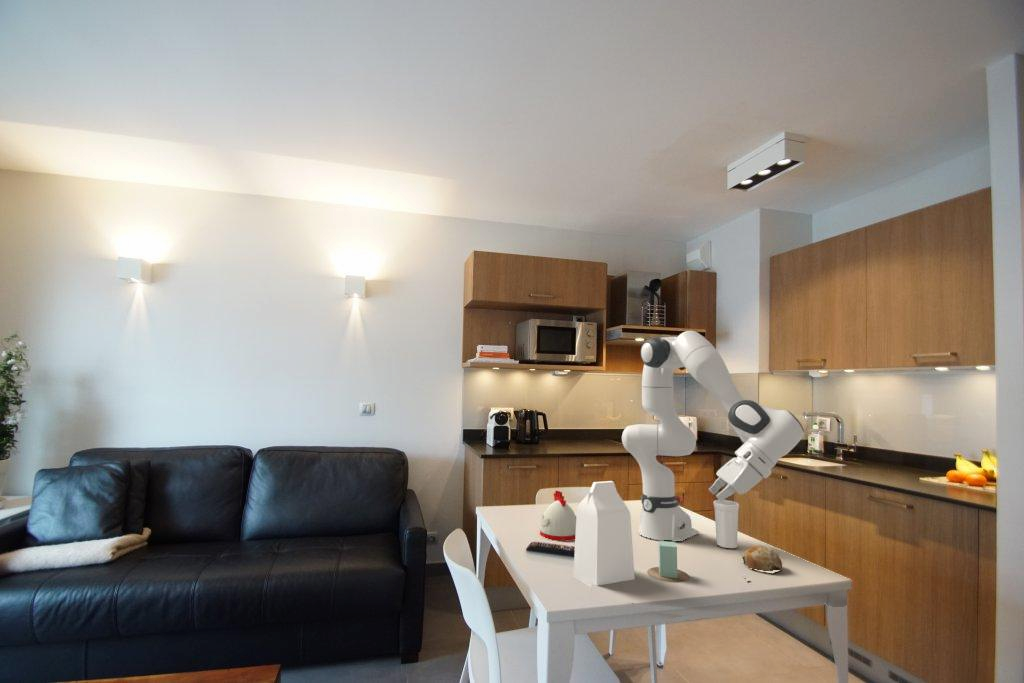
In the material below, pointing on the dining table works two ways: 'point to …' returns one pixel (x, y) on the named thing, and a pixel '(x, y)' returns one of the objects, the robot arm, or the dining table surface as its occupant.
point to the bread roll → (762, 559)
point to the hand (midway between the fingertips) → (714, 495)
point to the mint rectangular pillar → (667, 559)
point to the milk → (603, 537)
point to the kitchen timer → (558, 520)
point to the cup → (726, 523)
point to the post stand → (680, 577)
